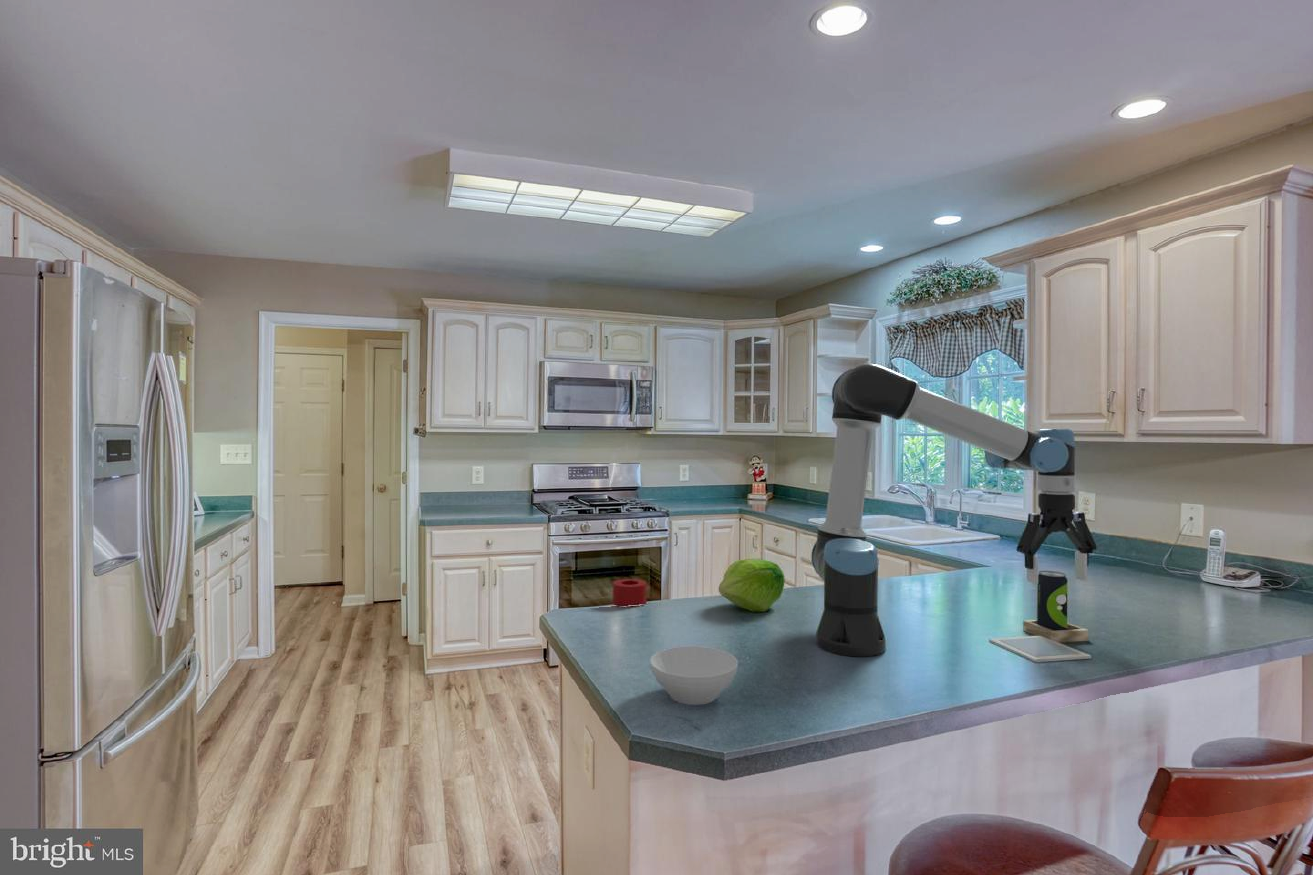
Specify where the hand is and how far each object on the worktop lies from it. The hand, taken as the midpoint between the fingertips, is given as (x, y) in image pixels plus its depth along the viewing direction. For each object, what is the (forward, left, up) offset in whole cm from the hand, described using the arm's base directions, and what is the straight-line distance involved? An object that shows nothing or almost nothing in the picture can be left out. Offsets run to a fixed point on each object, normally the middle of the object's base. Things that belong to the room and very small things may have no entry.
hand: (1057, 580), depth 153 cm
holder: (0, 0, -13) cm, 13 cm away
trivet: (-12, -8, -13) cm, 20 cm away
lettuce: (-65, +35, -13) cm, 75 cm away
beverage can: (-1, +1, -13) cm, 13 cm away
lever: (-96, +49, -14) cm, 109 cm away
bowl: (-95, -20, -13) cm, 98 cm away
